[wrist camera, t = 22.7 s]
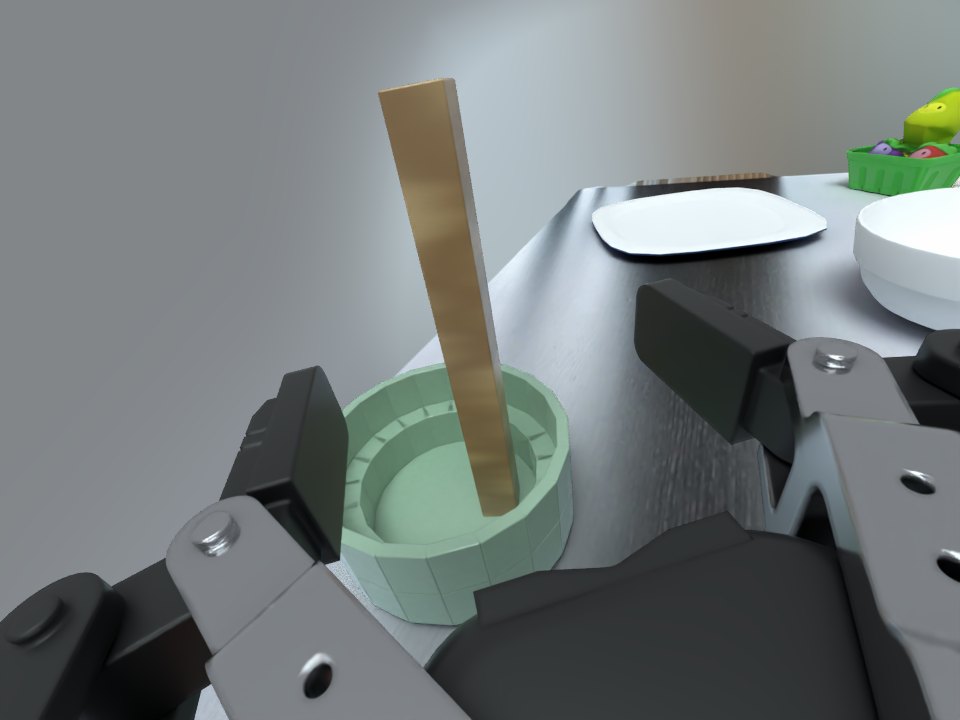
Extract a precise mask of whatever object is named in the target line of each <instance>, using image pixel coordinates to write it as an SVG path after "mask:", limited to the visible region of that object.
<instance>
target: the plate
mask: <svg viewBox="0 0 960 720" xmlns="http://www.w3.org/2000/svg"><path fill="white" fill-rule="evenodd" d="M592 223H593V225H594V227H595V229H596V231H597V232H598V234H599V235H600V237H601V239H602V240H603V241H604V242H605V243H606V244H607V245H608V246H609V247H611V248H612V249H615V250H618V251H621V252H624V253H627V254H630V255H642V256H671V255H684V254H696V253H705V252H714V251H722V250H731V249H738V248H746V247H754V246H762V245H769V244H775V243H781V242H786V241H792V240H798V239H803V238H806V237H809V236H811V235H814V234H816V233H819V232H822V231H824V230H826V229H827V224H826V219H825V218H823V217H822V216H820V215H819V214H817V213H815V212H814V211H812V210H810V209H808V208H806V207H804V206H801V205H799V204H797V203H795V202H792V201H790V200H787V199H785V198H782V197H780V196H777V195H774V194H771V193H767V192H764V191H761V190H755V189H746V188H714V189H705V190H696V191H688V192H681V193H673V194H666V195H659V196H653V197H646V198H639V199H634V200H628V201H623V202H617V203H614V204H610V205H607V206H604V207H600V208H599V209H597V210H596V211H595V212H594V213H593V214H592Z"/></svg>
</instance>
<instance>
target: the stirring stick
mask: <svg viewBox="0 0 960 720" xmlns="http://www.w3.org/2000/svg"><path fill="white" fill-rule="evenodd" d="M378 95H379V99H380V103H381V107H382V111H383V115H384V119H385V123H386V127H387V131H388V135H389V139H390V143H391V147H392V151H393V155H394V159H395V163H396V167H397V171H398V175H399V180H400V184H401V187H402V191H403V196H404V200H405V204H406V208H407V211H408V216H409V220H410V224H411V228H412V232H413V236H414V239H415V244H416V248H417V252H418V256H419V260H420V264H421V268H422V272H423V276H424V280H425V284H426V288H427V292H428V296H429V300H430V304H431V308H432V313H433V317H434V321H435V325H436V329H437V333H438V337H439V341H440V345H441V349H442V353H443V357H444V361H445V365H446V369H447V373H448V377H449V381H450V385H451V389H452V393H453V397H454V401H455V405H456V409H457V413H458V417H459V421H460V425H461V429H462V433H463V437H464V442H465V446H466V450H467V454H468V458H469V462H470V466H471V470H472V474H473V478H474V482H475V486H476V490H477V494H478V498H479V502H480V506H481V510H482V514H483V516H502V515H504V514H506V513H508V512H509V511H511V510H513V509H514V508H516V507H517V506H518V505H519V494H520V486H519V479H518V473H517V467H516V461H515V454H514V448H513V442H512V435H511V429H510V423H509V417H508V410H507V404H506V398H505V391H504V385H503V379H502V373H501V366H500V360H499V354H498V347H497V341H496V335H495V329H494V322H493V316H492V310H491V304H490V297H489V291H488V285H487V279H486V272H485V266H484V260H483V253H482V248H481V241H480V234H479V228H478V222H477V216H476V210H475V204H474V197H473V191H472V184H471V178H470V172H469V165H468V159H467V153H466V147H465V140H464V134H463V128H462V122H461V116H460V109H459V103H458V96H457V90H456V84H455V80H454V79H453V78H439V79H434V80H430V81H424V82H419V83H414V84H409V85H404V86H399V87H394V88H389V89H384V90H380V91H379V92H378Z"/></svg>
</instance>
